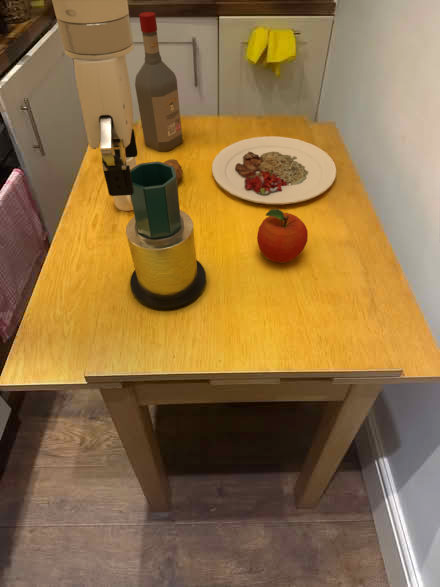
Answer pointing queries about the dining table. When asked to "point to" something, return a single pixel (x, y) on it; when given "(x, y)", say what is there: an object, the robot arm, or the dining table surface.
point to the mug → (125, 200)
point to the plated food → (274, 170)
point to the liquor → (157, 93)
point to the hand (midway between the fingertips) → (124, 174)
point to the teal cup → (155, 199)
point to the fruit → (281, 236)
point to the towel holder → (166, 267)
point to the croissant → (175, 167)
